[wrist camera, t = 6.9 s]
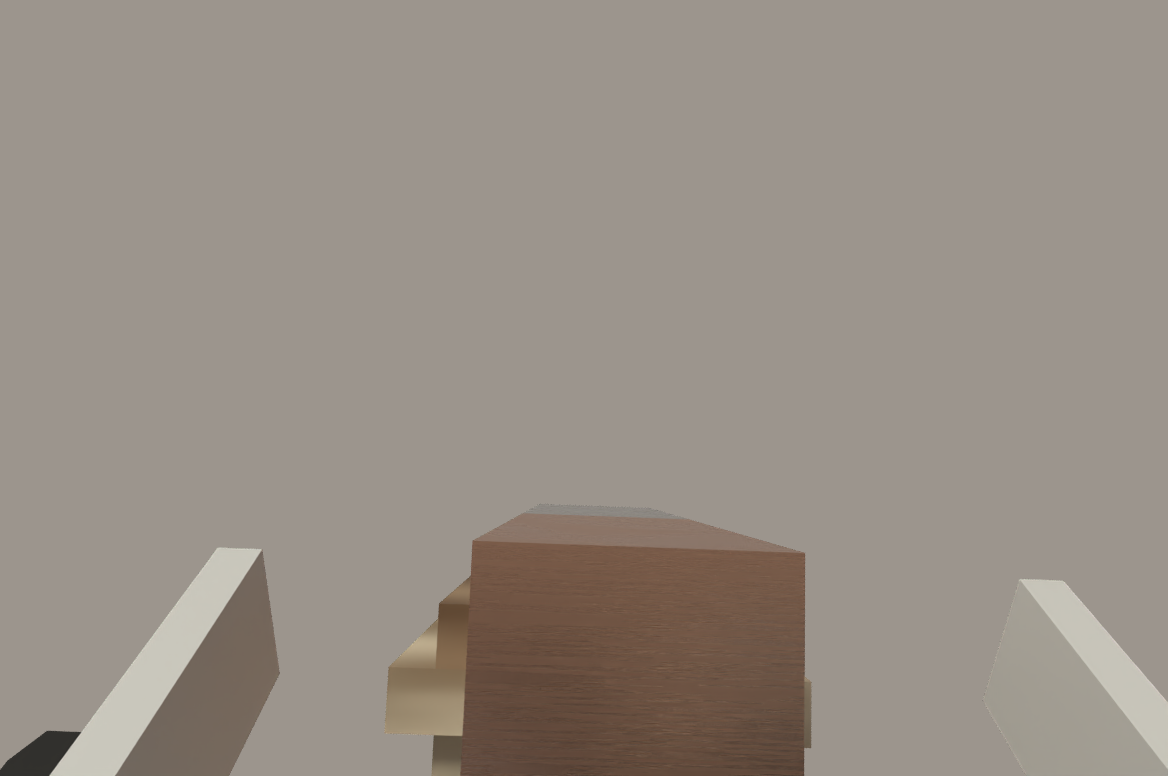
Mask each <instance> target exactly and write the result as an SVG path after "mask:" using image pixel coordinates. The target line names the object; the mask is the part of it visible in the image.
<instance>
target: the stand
mask: <svg viewBox="0 0 1168 776" xmlns="http://www.w3.org/2000/svg"><path fill="white" fill-rule="evenodd" d="M470 582H471V576H470V577H469V578H468V579H467V580H466V581H464V582H463V583H462V584H461V585H460V586H459V587H457V588H456V589H455V590H454V591H453V592H452V593H451V594H450V595H448V596H447V597H446V598H445V599H444V600H443V601H442V602H440V603H439V615H438V619H437V620H436V621H435V622H434V623H433V624H432V625H431V626H430V627H429V628H428V629H427V630H426V631H425V632H424V633H423V634H422V635H421V636H420V637H419V638H418V639H417V640H416V641H415V642H414V643H413V644H412V645H411V646H410V647H409V648H408V649H407V650H406V651H405V652H404V653H403V654H402V655H401V656H400V657H398V659H397V660H396V661H395V662H394V663H392V664H391V665H390V666H389V671H388V687H387V703H386V718H385V733H388V734H417V735H434V741H433V759H432V776H460V772H461V753H462V734H463V715H464V696H465V677H466V658H467V639H468V620H469V601H470ZM804 748H811V681H810V680H808V679H807V678H806V677H805V676H804Z"/></svg>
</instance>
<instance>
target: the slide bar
mask: <svg viewBox="0 0 1168 776" xmlns="http://www.w3.org/2000/svg"><path fill="white" fill-rule="evenodd" d="M804 648H805V553H803V552H800V551H796V550H793V549H789V548H786V547H782V546H779V545H776V544H772V543H769V542H765V541H762V540H758V539H755V538H751V537H748V536H744V535H741V534H737V533H733V532H730V531H727V530H723V529H720V528H716V527H713V526H710V525H706V524H702V523H699V522H695V521H692V520H689V519H685V518H682V517H678V516H675V515H671V514H668V513H664V512H661V511H658V510H654V509H651V508H630V507H603V506H576V505H575V506H574V505H549V504H539V505H537V506H536V507H534V508H532V509H530V510H529V511H526V512H525V513H523V514H521V515H519V516H517V517H515V518H514V519H512V520H510V521H508V522H507V523H504V524H503V525H501V526H499V527H497V528H495V529H493V530H492V531H490V532H488V533H486V534H484V535H482V536H481V537H479V538H477V539H475V540H473V545H472V563H471V582H470V601H469V620H468V639H467V658H466V677H465V696H464V715H463V734H462V753H461V772H460V776H804V673H805V672H804V670H805V667H804V666H805V662H804V661H805V658H804V657H805V649H804Z"/></svg>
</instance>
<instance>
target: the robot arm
mask: <svg viewBox="0 0 1168 776" xmlns="http://www.w3.org/2000/svg"><path fill="white" fill-rule="evenodd" d="M279 674H280V672H279V665H278V658H277V652H276V644H275V637H274V630H273V622H272V615H271V608H270V601H269V595H268V587H267V580H266V573H265V567H264V560H263V552H262V549H242V548H217V549H216V551H215V552H214V554H213V555H212V556H211V558H210V559H209V561H208V562H207V563H206V564H205V566H204V567H203V569H202V570H201V571H200V573H199V574H198V575H197V577H196V578H195V579H194V581H193V582H192V583H191V585H190V586H189V587H188V589H187V590H186V591H185V593H184V594H183V595H182V597H181V598H180V600H179V601H178V603H177V604H176V605H175V606H174V608H173V609H172V610H171V612H170V613H169V615H168V616H167V617H166V618H165V620H164V621H163V623H162V624H161V625H160V627H159V628H158V629H157V631H156V632H155V633H154V635H153V636H152V637H151V639H150V640H149V641H148V643H147V644H146V646H145V647H144V648H143V650H142V651H141V652H140V654H139V655H138V657H137V658H136V659H135V660H134V662H133V663H132V665H131V666H130V667H129V669H128V670H127V671H126V673H125V674H124V676H123V677H122V678H121V680H120V681H119V682H118V683H117V685H116V686H115V688H114V689H113V690H112V692H111V693H110V694H109V696H108V697H107V698H106V700H105V701H104V703H103V704H102V705H101V707H100V708H99V709H98V711H97V712H96V713H95V715H94V716H93V717H92V719H91V720H90V721H89V723H88V724H87V726H86V727H85V728H84V730H83V731H82V732H62V731H46V732H45V733H44V734H42V735H41V736H40V737H38V738H37V739H36V740H35V741H33V742H32V743H30V744H29V745H28V746H26V747H25V748H24V749H22V750H21V751H20V752H18V753H17V754H16V755H14V756H13V757H12V758H10V759H9V760H8V761H7V762H6V763H5V765H4V766H3V767H2V768H1V770H0V776H229V775H230V773H231V771H232V769H233V767H234V765H235V762H236V761H237V759H238V757H239V754H240V752H241V750H242V749H243V746H244V744H245V742H246V740H247V738H248V736H249V734H250V732H251V730H252V728H253V726H254V724H255V722H256V720H257V718H258V716H259V714H260V712H261V710H262V708H263V706H264V704H265V702H266V700H267V698H268V696H269V694H270V692H271V690H272V688H273V686H274V684H275V682H276V680H277V678H278V676H279ZM983 702H984V704H985V706H986V708H987V709H988V711H989V713H990V714H991V716H992V718H993V720H994V721H995V723H996V725H997V726H998V728H999V730H1000V732H1001V733H1002V735H1003V737H1004V738H1005V740H1006V742H1007V744H1008V745H1009V747H1010V749H1011V750H1012V752H1013V754H1014V756H1015V757H1016V759H1017V761H1018V762H1019V764H1020V766H1021V767H1022V769H1023V771H1024V773H1025V775H1026V776H1168V702H1167V701H1166V700H1165V699H1164V698H1163V696H1162V695H1161V694H1160V693H1159V692H1158V691H1157V689H1156V688H1155V687H1154V686H1153V685H1152V683H1151V682H1150V681H1149V680H1148V679H1147V678H1146V677H1145V675H1144V674H1143V673H1142V672H1141V671H1140V670H1139V668H1138V667H1137V666H1136V665H1135V664H1134V662H1133V661H1132V660H1131V659H1130V658H1129V657H1128V656H1127V654H1126V653H1125V652H1124V651H1123V650H1122V649H1121V647H1120V646H1119V645H1118V644H1117V643H1116V642H1115V640H1114V639H1113V638H1112V637H1111V636H1110V635H1109V634H1108V632H1107V631H1106V630H1105V629H1104V628H1103V626H1102V625H1101V624H1100V623H1099V622H1098V621H1097V619H1096V618H1095V617H1094V616H1093V615H1092V614H1091V612H1090V611H1089V610H1088V609H1087V608H1086V607H1085V606H1084V604H1083V603H1082V602H1081V601H1080V600H1079V598H1078V597H1077V596H1076V595H1075V594H1074V593H1073V591H1072V590H1071V589H1070V588H1069V587H1068V586H1067V584H1066V583H1065V582H1064V581H1055V580H1029V579H1019V582H1018V585H1017V589H1016V592H1015V595H1014V598H1013V602H1012V605H1011V609H1010V612H1009V615H1008V619H1007V622H1006V625H1005V628H1004V632H1003V635H1002V638H1001V641H1000V645H999V648H998V652H997V655H996V658H995V662H994V665H993V668H992V671H991V675H990V678H989V681H988V684H987V688H986V691H985V694H984V698H983Z"/></svg>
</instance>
